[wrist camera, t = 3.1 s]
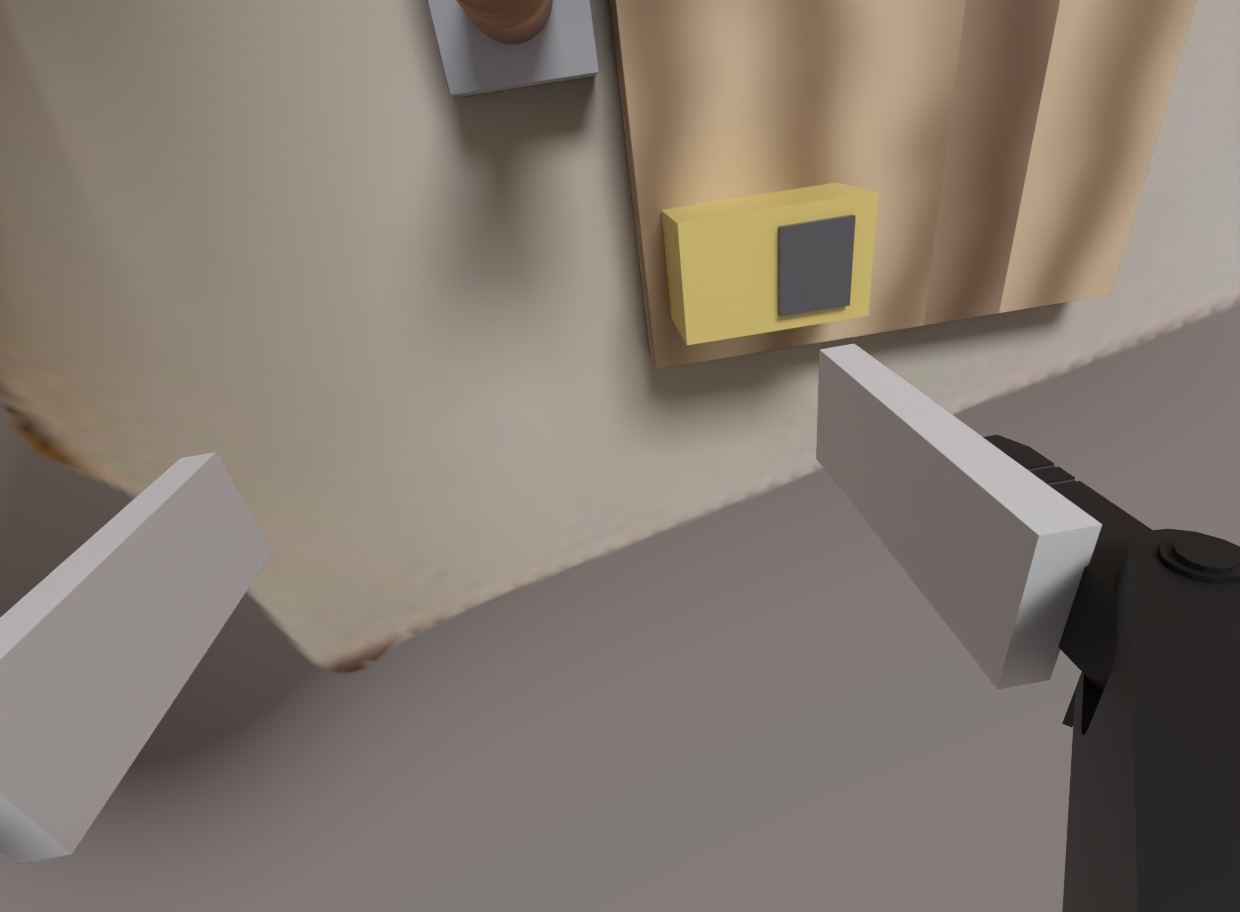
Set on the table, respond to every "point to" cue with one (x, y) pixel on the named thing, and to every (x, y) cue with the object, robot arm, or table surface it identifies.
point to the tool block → (514, 50)
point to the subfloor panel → (903, 140)
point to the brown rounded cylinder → (508, 18)
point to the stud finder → (770, 261)
